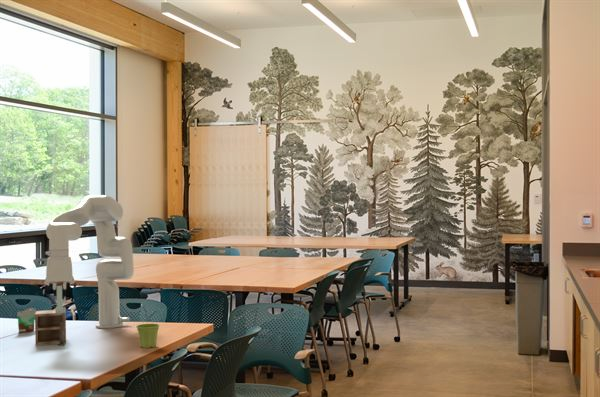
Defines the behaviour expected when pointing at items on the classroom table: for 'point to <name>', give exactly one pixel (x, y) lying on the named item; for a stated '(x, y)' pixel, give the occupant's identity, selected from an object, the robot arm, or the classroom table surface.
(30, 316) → the food container
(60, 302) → the door
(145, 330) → the plant pot
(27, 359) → the classroom table surface
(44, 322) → the cabinet
